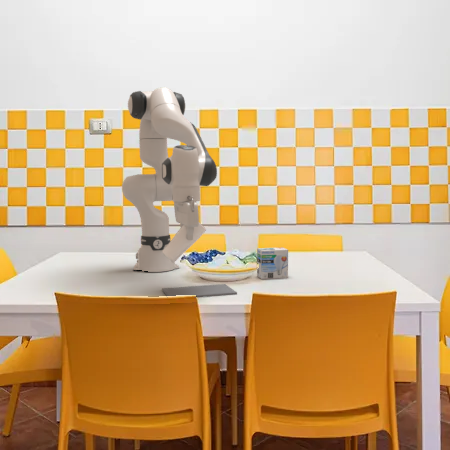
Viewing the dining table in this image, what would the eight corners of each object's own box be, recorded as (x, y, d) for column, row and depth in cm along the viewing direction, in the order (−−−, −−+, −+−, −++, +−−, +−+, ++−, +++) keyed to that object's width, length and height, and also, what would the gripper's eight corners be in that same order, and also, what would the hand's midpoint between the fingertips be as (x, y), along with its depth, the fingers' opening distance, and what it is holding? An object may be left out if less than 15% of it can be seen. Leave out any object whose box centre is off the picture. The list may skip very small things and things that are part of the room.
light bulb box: (261, 279, 191) (260, 250, 190) (256, 276, 197) (256, 248, 196) (289, 278, 193) (288, 249, 192) (283, 274, 199) (283, 246, 198)
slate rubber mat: (162, 290, 175) (161, 288, 175) (225, 285, 181) (225, 283, 181) (169, 299, 161) (169, 297, 161) (236, 294, 167) (236, 292, 167)
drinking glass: (165, 255, 163) (197, 220, 164) (156, 248, 168) (187, 213, 170) (178, 267, 167) (209, 232, 168) (169, 259, 172) (199, 225, 174)
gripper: (203, 196, 158) (204, 241, 159) (189, 194, 178) (190, 235, 179) (182, 197, 156) (183, 242, 158) (171, 195, 176) (172, 235, 177)
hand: (187, 238), depth 168 cm, fingers closed on drinking glass, 6 cm apart
